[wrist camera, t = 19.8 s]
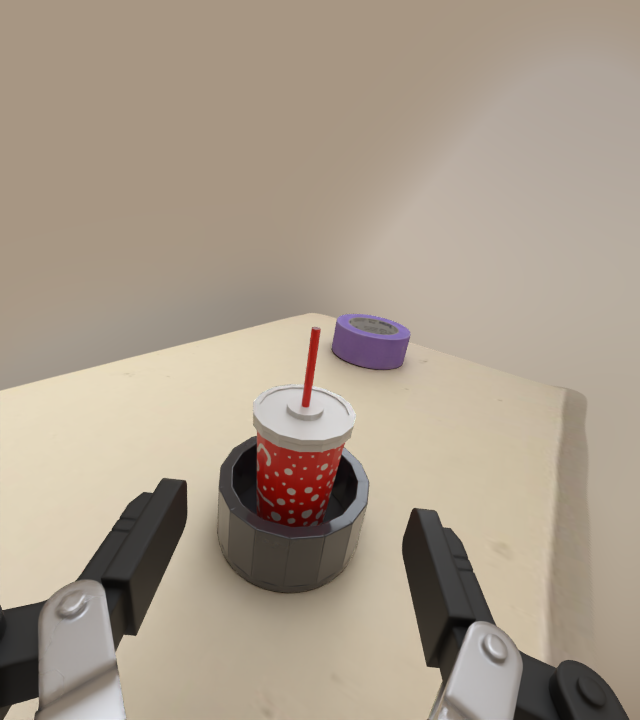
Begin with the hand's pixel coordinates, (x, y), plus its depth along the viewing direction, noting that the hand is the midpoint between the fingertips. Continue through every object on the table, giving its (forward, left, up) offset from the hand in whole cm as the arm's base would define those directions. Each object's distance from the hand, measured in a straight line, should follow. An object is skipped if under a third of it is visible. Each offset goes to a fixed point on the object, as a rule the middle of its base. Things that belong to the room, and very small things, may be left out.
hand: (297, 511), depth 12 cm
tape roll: (+45, -1, -11) cm, 46 cm away
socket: (+9, +2, -11) cm, 14 cm away
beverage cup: (+8, +2, -10) cm, 13 cm away
